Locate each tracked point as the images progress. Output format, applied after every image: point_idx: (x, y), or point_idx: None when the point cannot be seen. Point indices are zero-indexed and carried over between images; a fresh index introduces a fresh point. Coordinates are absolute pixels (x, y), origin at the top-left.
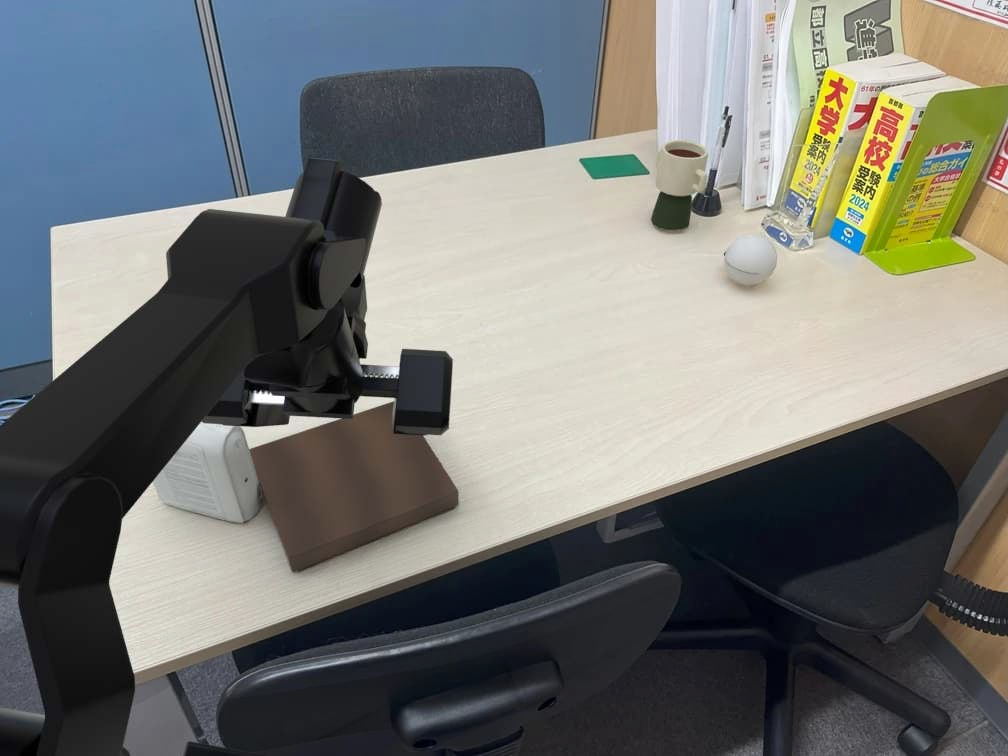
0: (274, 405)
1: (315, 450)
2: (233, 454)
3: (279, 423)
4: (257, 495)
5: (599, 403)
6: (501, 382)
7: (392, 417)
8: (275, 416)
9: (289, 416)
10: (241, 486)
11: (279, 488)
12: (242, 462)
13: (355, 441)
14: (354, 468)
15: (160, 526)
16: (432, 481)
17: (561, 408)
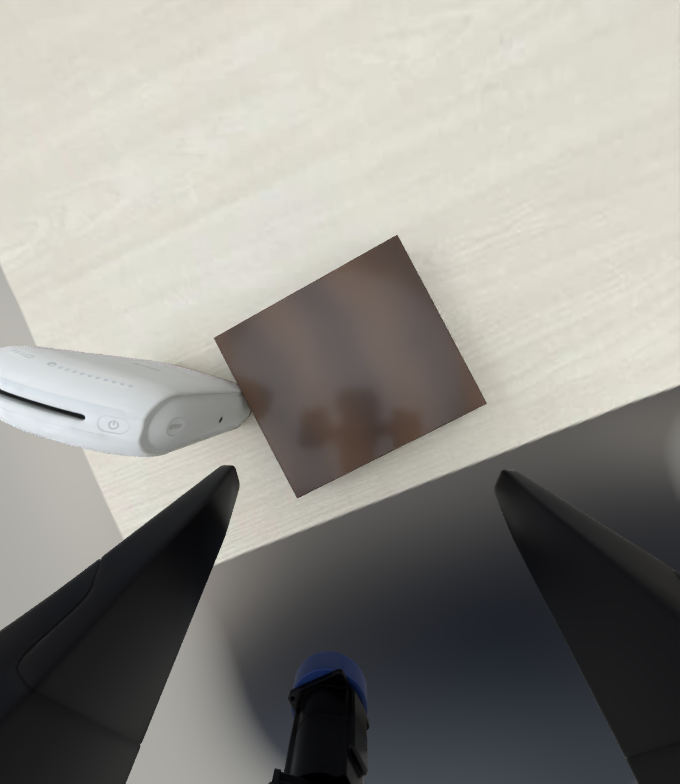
0: (145, 638)
1: (297, 337)
2: (177, 437)
3: (206, 579)
4: (244, 403)
5: (675, 215)
6: (530, 178)
7: (556, 567)
8: (176, 620)
9: (235, 476)
10: (217, 427)
11: (266, 400)
12: (201, 423)
13: (345, 320)
14: (350, 367)
15: None
16: (452, 388)
17: (615, 228)
